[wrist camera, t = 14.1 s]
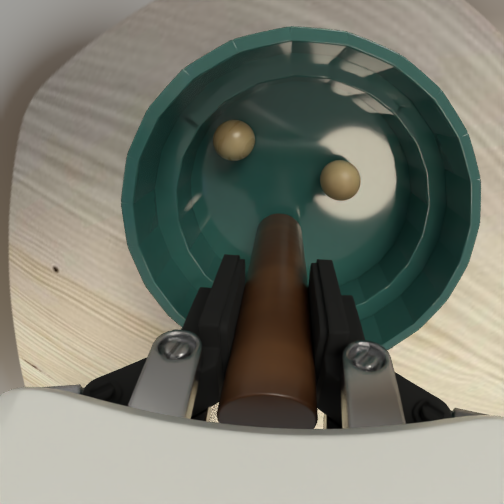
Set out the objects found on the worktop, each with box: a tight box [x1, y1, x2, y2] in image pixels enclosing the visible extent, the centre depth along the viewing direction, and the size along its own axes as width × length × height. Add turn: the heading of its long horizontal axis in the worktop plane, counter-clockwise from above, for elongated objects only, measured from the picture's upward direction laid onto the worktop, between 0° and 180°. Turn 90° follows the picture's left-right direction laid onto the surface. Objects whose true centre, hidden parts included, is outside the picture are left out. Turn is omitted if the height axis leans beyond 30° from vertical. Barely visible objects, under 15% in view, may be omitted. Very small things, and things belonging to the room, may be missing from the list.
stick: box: [217, 214, 318, 429], centre depth 11 cm, size 2×2×11 cm
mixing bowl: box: [121, 26, 481, 350], centre depth 14 cm, size 15×15×6 cm
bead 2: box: [320, 160, 361, 201], centre depth 14 cm, size 2×2×2 cm
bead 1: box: [213, 120, 255, 161], centre depth 14 cm, size 2×2×2 cm
